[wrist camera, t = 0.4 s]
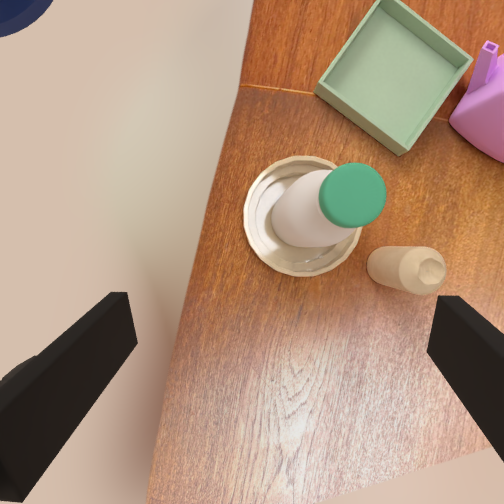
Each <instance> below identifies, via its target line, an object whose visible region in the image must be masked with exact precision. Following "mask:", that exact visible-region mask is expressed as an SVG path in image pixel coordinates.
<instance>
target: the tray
mask: <svg viewBox="0 0 504 504" xmlns="http://www.w3.org/2000/svg"><path fill="white" fill-rule="evenodd" d="M473 60H474V59H473V58H472V57H471V56H469V55H468V54H467V53H466V52H464V51H463V50H462V49H461V48H459V47H458V46H457V45H456V44H454V43H453V42H452V41H451V40H449V39H448V38H447V37H446V36H444V35H443V34H442V33H440V32H439V31H438V30H437V29H435V28H434V27H433V26H432V25H430V24H429V23H428V22H427V21H425V20H424V19H423V18H422V17H420V16H419V15H418V14H417V13H415V12H414V11H413V10H411V9H410V8H409V7H408V6H406V5H405V4H404V3H403V2H401V1H400V0H376V1H375V3H374V4H373V6H372V7H371V8H370V10H369V11H368V13H367V14H366V15H365V17H364V18H363V20H362V21H361V22H360V24H359V25H358V27H357V28H356V29H355V31H354V32H353V34H352V35H351V36H350V38H349V39H348V41H347V42H346V43H345V45H344V46H343V48H342V49H341V51H340V52H339V53H338V55H337V56H336V58H335V59H334V60H333V62H332V63H331V65H330V66H329V67H328V69H327V70H326V72H325V73H324V74H323V76H322V77H321V79H320V80H319V81H318V83H317V85H316V87H315V89H314V91H313V92H314V93H315V94H317V95H318V96H319V97H321V98H322V99H323V100H325V101H326V102H327V103H329V104H330V105H331V106H332V107H334V108H335V109H336V110H338V111H339V112H340V113H342V114H343V115H344V116H346V117H347V118H348V119H350V120H351V121H352V122H354V123H355V124H356V125H358V126H359V127H360V128H361V129H363V130H364V131H365V132H367V133H368V134H369V135H371V136H372V137H373V138H375V139H376V140H377V141H379V142H380V143H381V144H383V145H384V146H385V147H387V148H388V149H389V150H391V151H392V152H393V153H394V154H396V155H397V156H400V155H402V154H404V153H406V152H408V151H409V150H410V148H411V147H412V146H413V144H414V143H415V141H416V140H417V139H418V137H419V136H420V134H421V133H422V132H423V130H424V129H425V127H426V126H427V125H428V123H429V122H430V120H431V119H432V117H433V116H434V115H435V113H436V112H437V110H438V109H439V108H440V106H441V105H442V103H443V102H444V101H445V99H446V98H447V96H448V95H449V94H450V92H451V91H452V89H453V88H454V87H455V85H456V84H457V82H458V81H459V80H460V78H461V77H462V75H463V74H464V73H465V71H466V70H467V68H468V67H469V66H470V64H471V63H472V61H473Z"/></svg>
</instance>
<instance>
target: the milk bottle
mask: <svg viewBox="0 0 504 504" xmlns="http://www.w3.org/2000/svg"><path fill="white" fill-rule="evenodd" d="M385 202H386V187H385V184H384V181H383V179H382V177H381V176H380V175H379V173H378V172H377V171H376V170H374V169H373V168H372V167H370V166H368V165H365V164H362V163H347V164H344V165H341V166H339V167H338V168H336V169H334V170H317V171H313V172H310V173H308V174H306V175H304V176H302V177H300V178H299V179H298V180H296V181H295V182H294V183H293V184H292V185H291V186H290V187H289V188H288V189H287V190H286V191H285V192H284V193H283V194H282V196H281V197H280V198H279V199H278V200H277V202H276V203H275V205H274V207H273V210H272V214H271V223H272V227H273V230H274V232H275V234H276V235H277V236H278V238H279V239H280V240H282V241H283V242H284V243H286V244H288V245H291V246H296V247H327V246H331V245H334V244H337V243H339V242H341V241H343V240H344V239H346V238H347V237H348V236H349V235H351V234H352V233H353V231H354V230H355V229H356V228H358V227H362V226H365V225H367V224H369V223H371V222H372V221H374V220H375V219H376V218H377V217H378V216H379V214H380V213H381V212H382V210H383V208H384V205H385Z"/></svg>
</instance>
